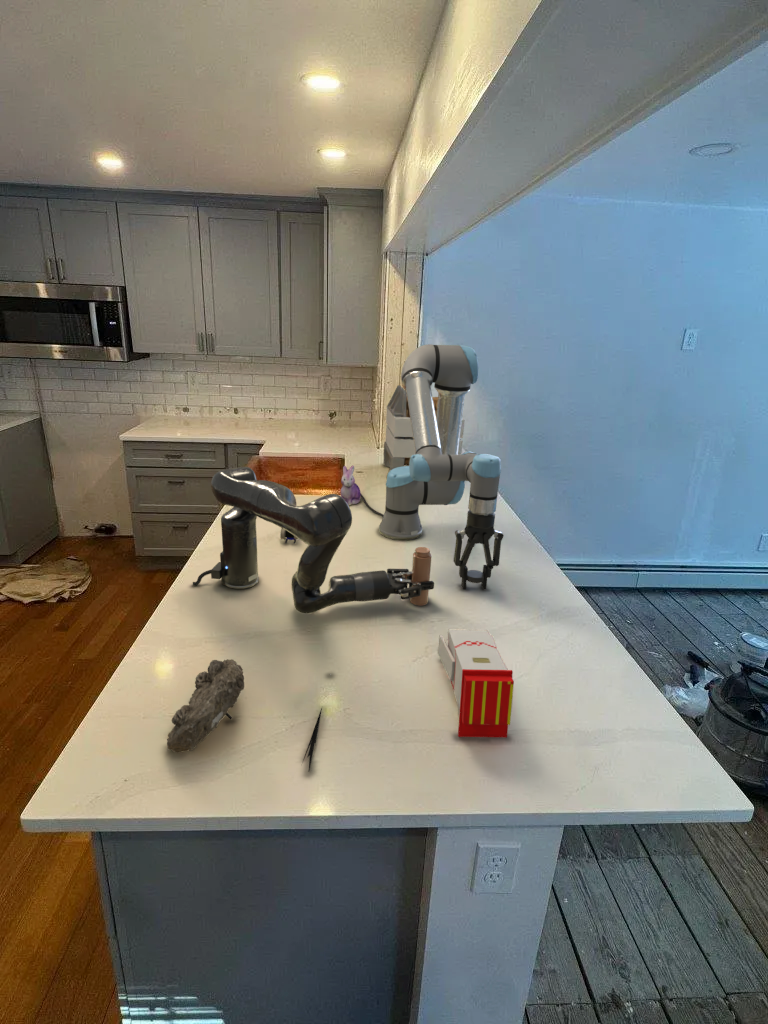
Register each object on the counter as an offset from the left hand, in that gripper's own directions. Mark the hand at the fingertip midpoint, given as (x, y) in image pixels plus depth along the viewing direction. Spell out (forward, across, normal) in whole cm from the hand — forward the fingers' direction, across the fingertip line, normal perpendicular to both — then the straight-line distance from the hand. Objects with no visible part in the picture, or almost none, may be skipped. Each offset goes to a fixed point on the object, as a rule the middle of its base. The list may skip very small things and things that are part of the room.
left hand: (429, 580), depth 153 cm
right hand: (+16, +4, +6) cm, 17 cm away
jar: (-3, 0, +6) cm, 7 cm away
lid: (+16, +4, +2) cm, 16 cm away
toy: (-6, -39, +6) cm, 40 cm away
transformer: (+41, +120, +6) cm, 127 cm away
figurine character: (-30, +51, +6) cm, 59 cm away
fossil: (-57, -34, +6) cm, 67 cm away
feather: (-38, -40, +6) cm, 55 cm away
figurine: (-2, +84, +6) cm, 84 cm away
